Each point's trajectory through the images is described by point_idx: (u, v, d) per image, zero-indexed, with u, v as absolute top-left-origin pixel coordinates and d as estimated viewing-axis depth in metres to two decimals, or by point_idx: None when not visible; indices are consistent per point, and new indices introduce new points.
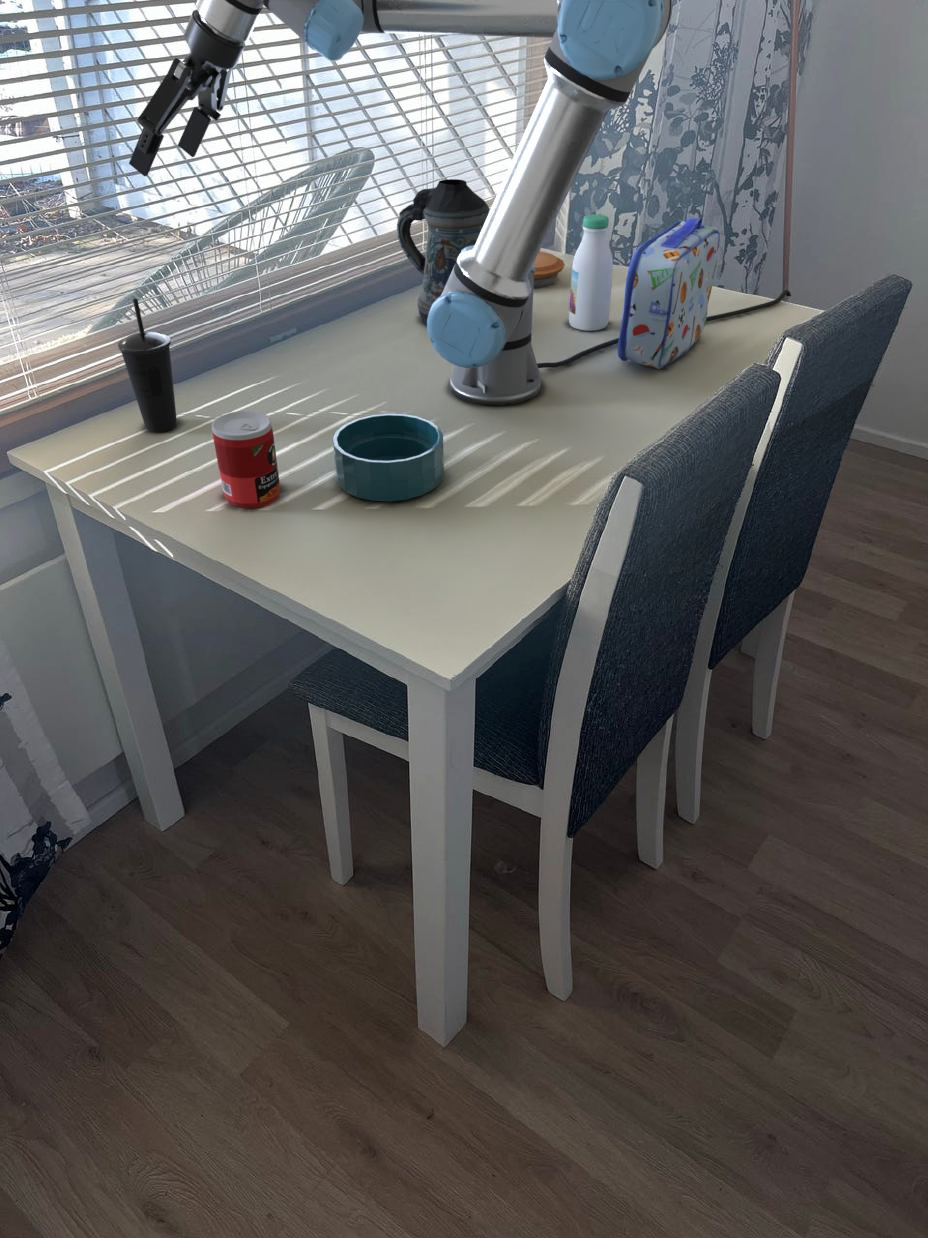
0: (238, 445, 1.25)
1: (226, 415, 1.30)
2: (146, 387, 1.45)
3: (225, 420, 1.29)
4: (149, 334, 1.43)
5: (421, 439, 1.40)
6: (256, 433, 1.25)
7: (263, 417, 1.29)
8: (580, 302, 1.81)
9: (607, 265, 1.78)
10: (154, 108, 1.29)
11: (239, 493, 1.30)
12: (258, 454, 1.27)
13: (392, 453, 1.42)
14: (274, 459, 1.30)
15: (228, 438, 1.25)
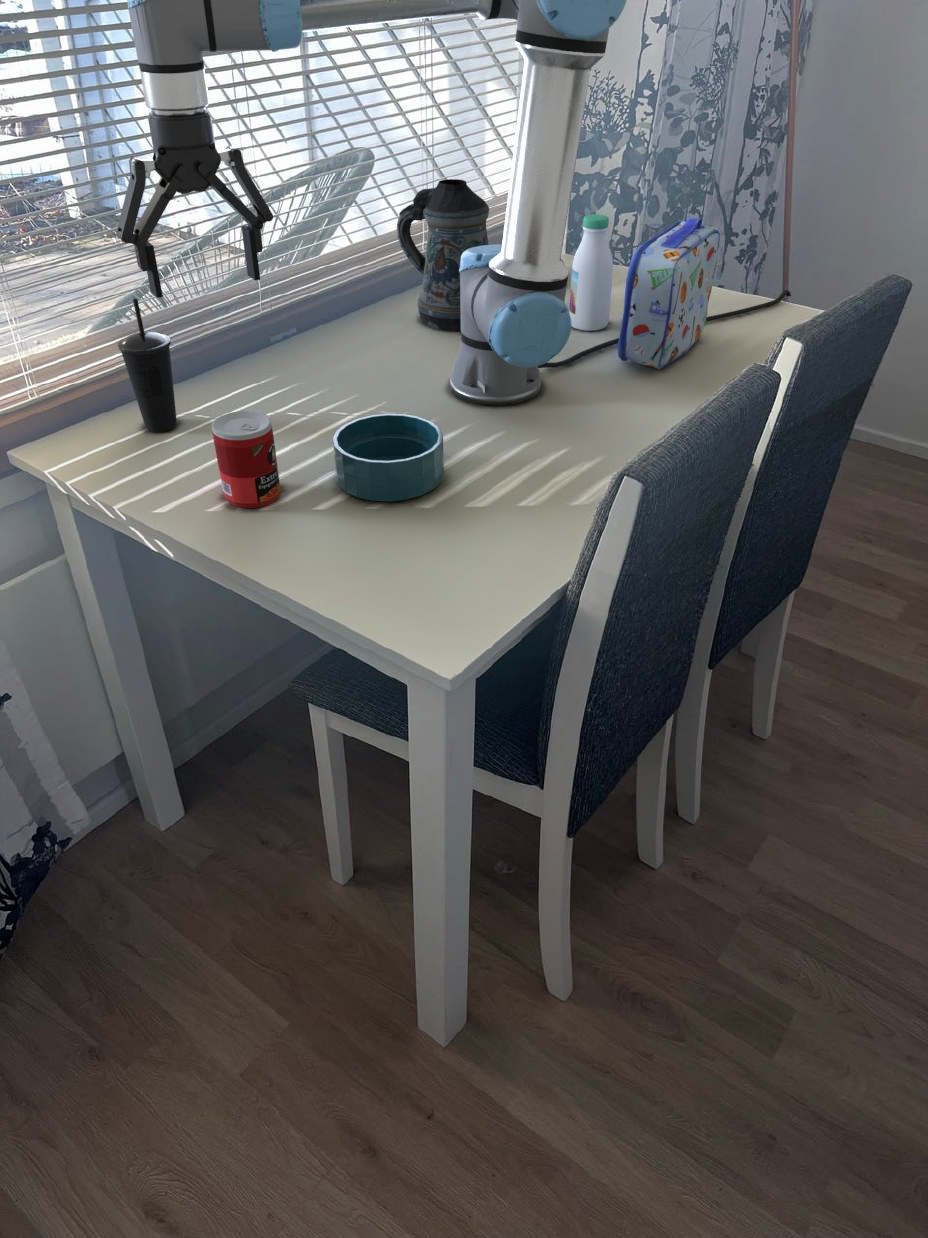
0: (238, 445, 1.25)
1: (226, 415, 1.30)
2: (146, 387, 1.45)
3: (225, 420, 1.29)
4: (149, 334, 1.43)
5: (421, 439, 1.40)
6: (256, 433, 1.25)
7: (263, 417, 1.29)
8: (580, 302, 1.81)
9: (607, 265, 1.78)
10: (123, 215, 1.20)
11: (239, 493, 1.30)
12: (258, 454, 1.27)
13: (392, 453, 1.42)
14: (274, 459, 1.30)
15: (228, 438, 1.25)
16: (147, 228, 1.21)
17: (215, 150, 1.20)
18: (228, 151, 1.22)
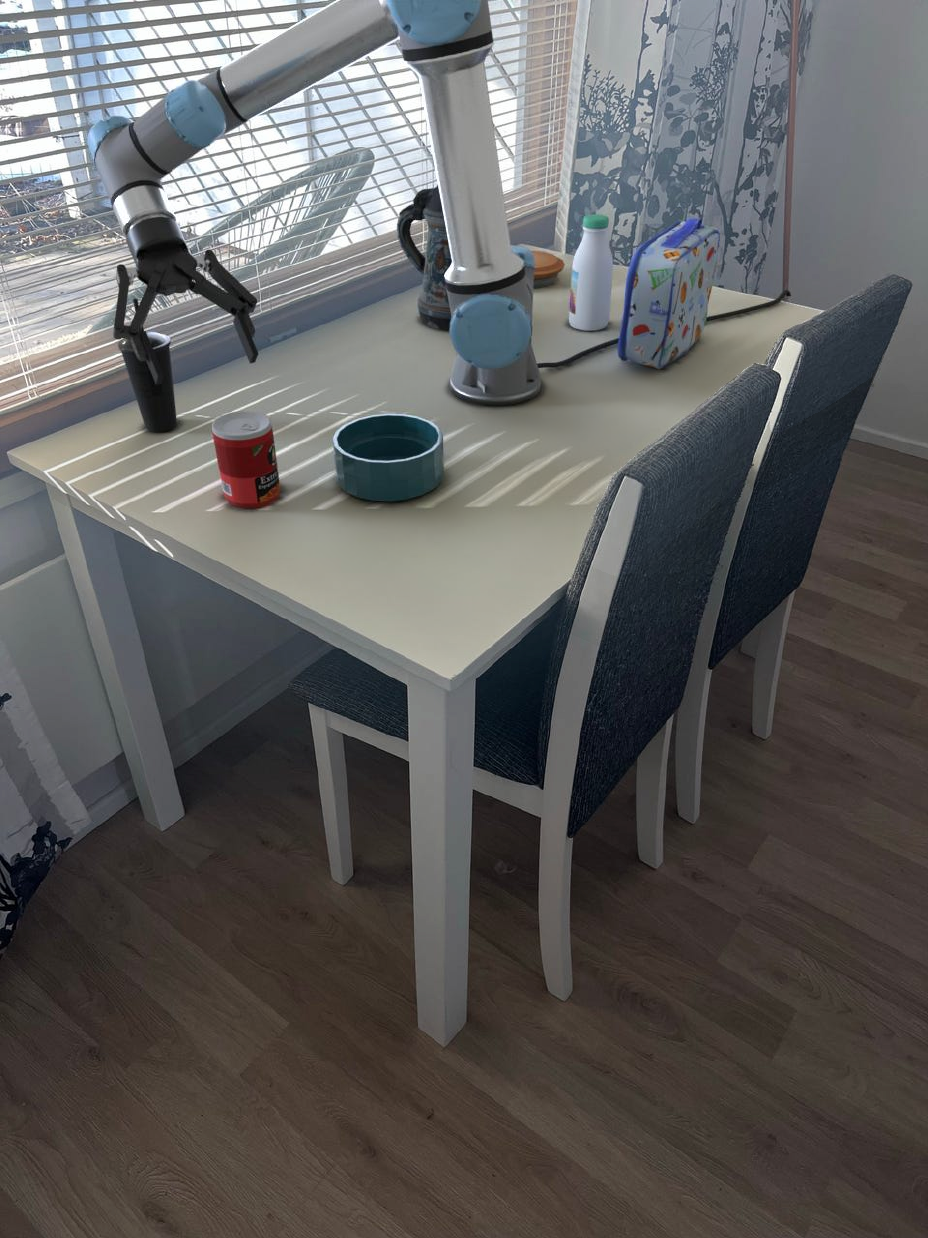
0: (238, 445, 1.25)
1: (226, 415, 1.30)
2: (146, 387, 1.45)
3: (225, 420, 1.29)
4: (149, 334, 1.43)
5: (421, 439, 1.40)
6: (256, 433, 1.25)
7: (263, 417, 1.29)
8: (580, 302, 1.81)
9: (607, 265, 1.78)
10: None
11: (239, 493, 1.30)
12: (258, 454, 1.27)
13: (392, 453, 1.42)
14: (274, 459, 1.30)
15: (228, 438, 1.25)
16: (137, 317, 1.29)
17: (189, 253, 1.34)
18: (202, 255, 1.35)
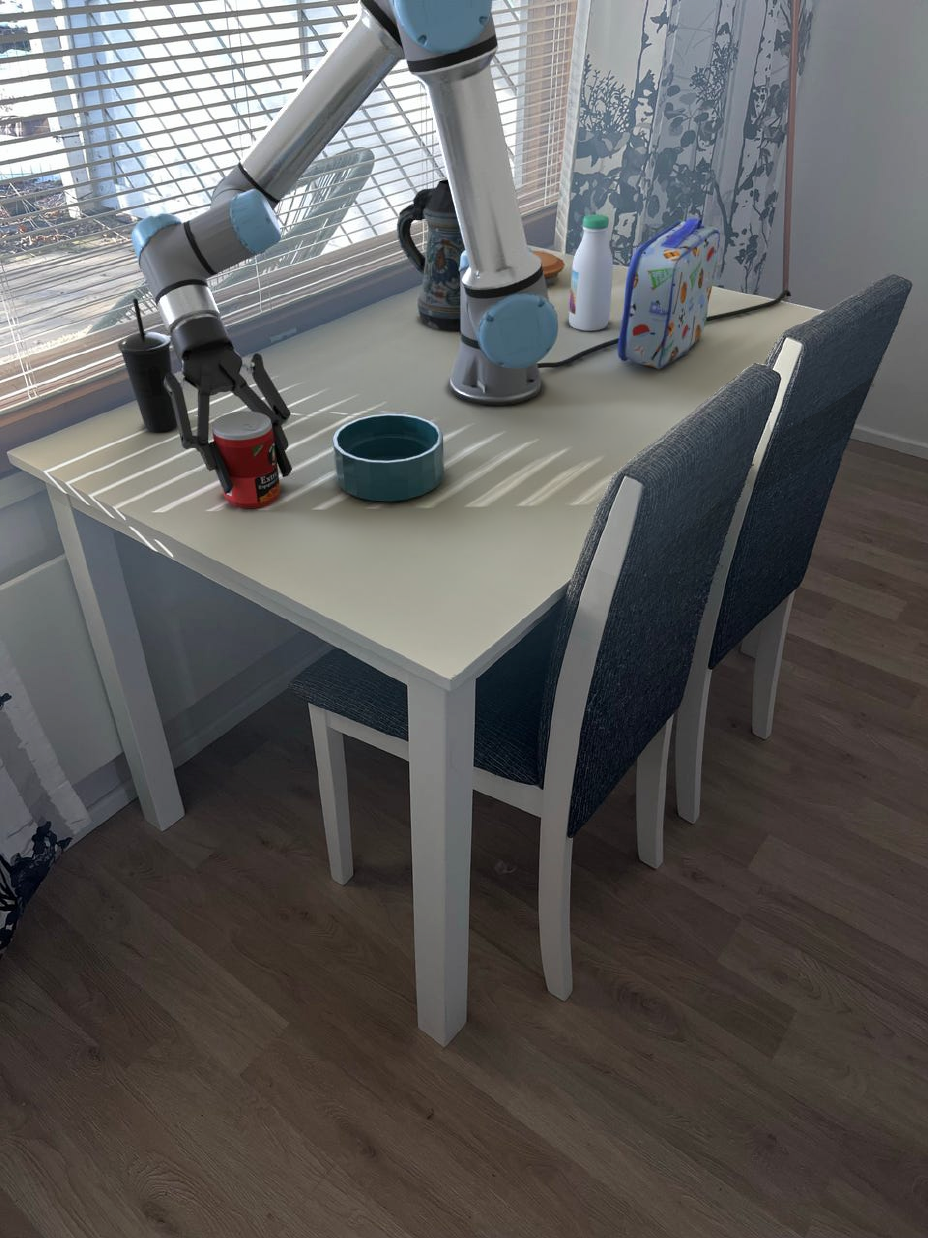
0: (238, 445, 1.25)
1: (226, 415, 1.30)
2: (146, 387, 1.45)
3: (225, 420, 1.29)
4: (149, 334, 1.43)
5: (421, 439, 1.40)
6: (256, 433, 1.25)
7: (263, 417, 1.29)
8: (580, 302, 1.81)
9: (607, 265, 1.78)
10: (179, 426, 1.27)
11: (239, 493, 1.30)
12: (258, 454, 1.27)
13: (392, 453, 1.42)
14: (274, 459, 1.30)
15: (228, 438, 1.25)
16: (203, 426, 1.27)
17: (234, 351, 1.31)
18: (250, 357, 1.32)
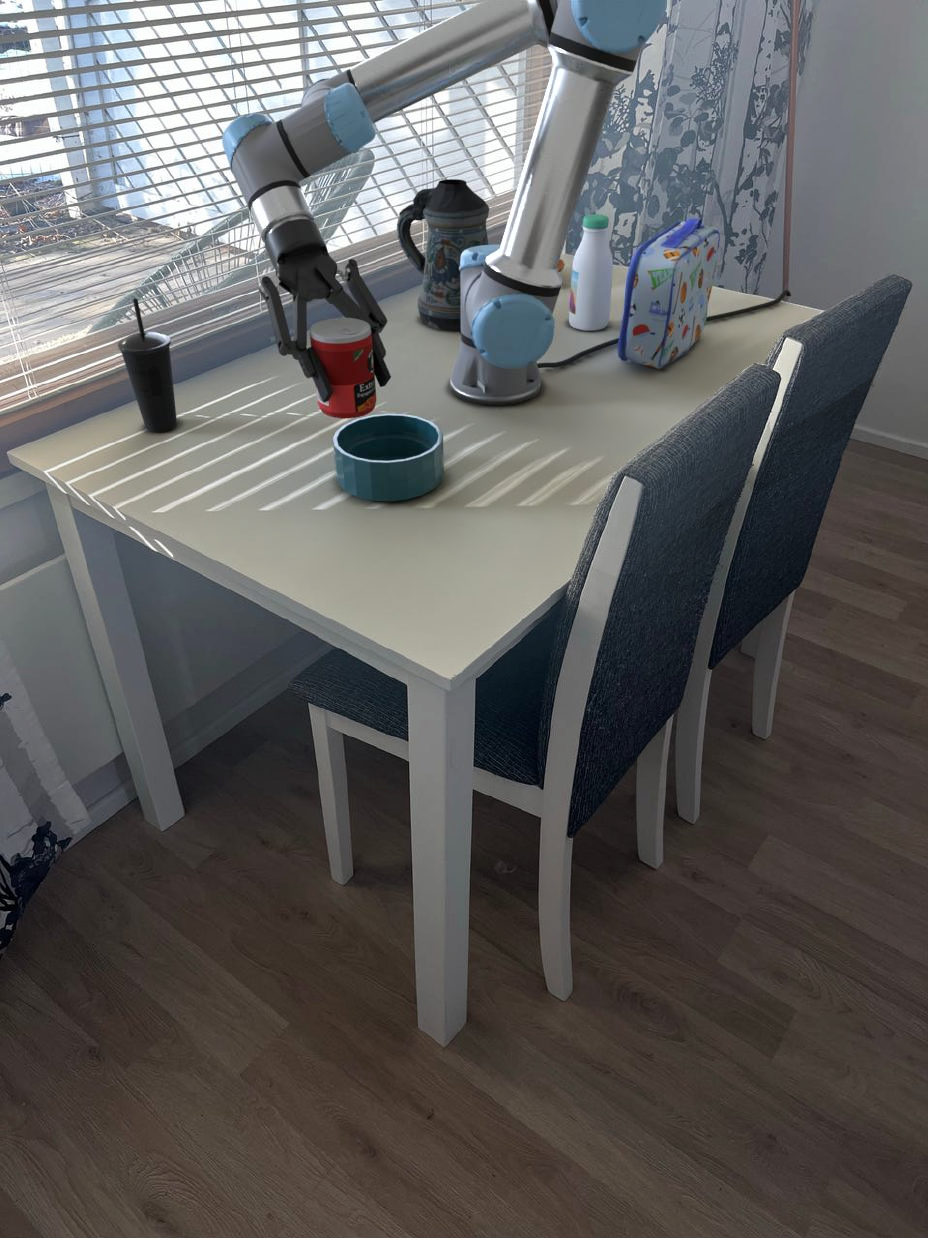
0: (339, 348, 1.21)
1: (323, 321, 1.25)
2: (146, 387, 1.45)
3: (322, 326, 1.25)
4: (149, 334, 1.43)
5: (421, 439, 1.40)
6: (357, 336, 1.21)
7: (361, 322, 1.25)
8: (580, 302, 1.81)
9: (607, 265, 1.78)
10: (276, 331, 1.23)
11: (337, 401, 1.25)
12: (359, 359, 1.23)
13: (392, 453, 1.42)
14: (372, 366, 1.26)
15: (328, 341, 1.21)
16: (301, 331, 1.23)
17: (329, 256, 1.27)
18: (345, 263, 1.28)
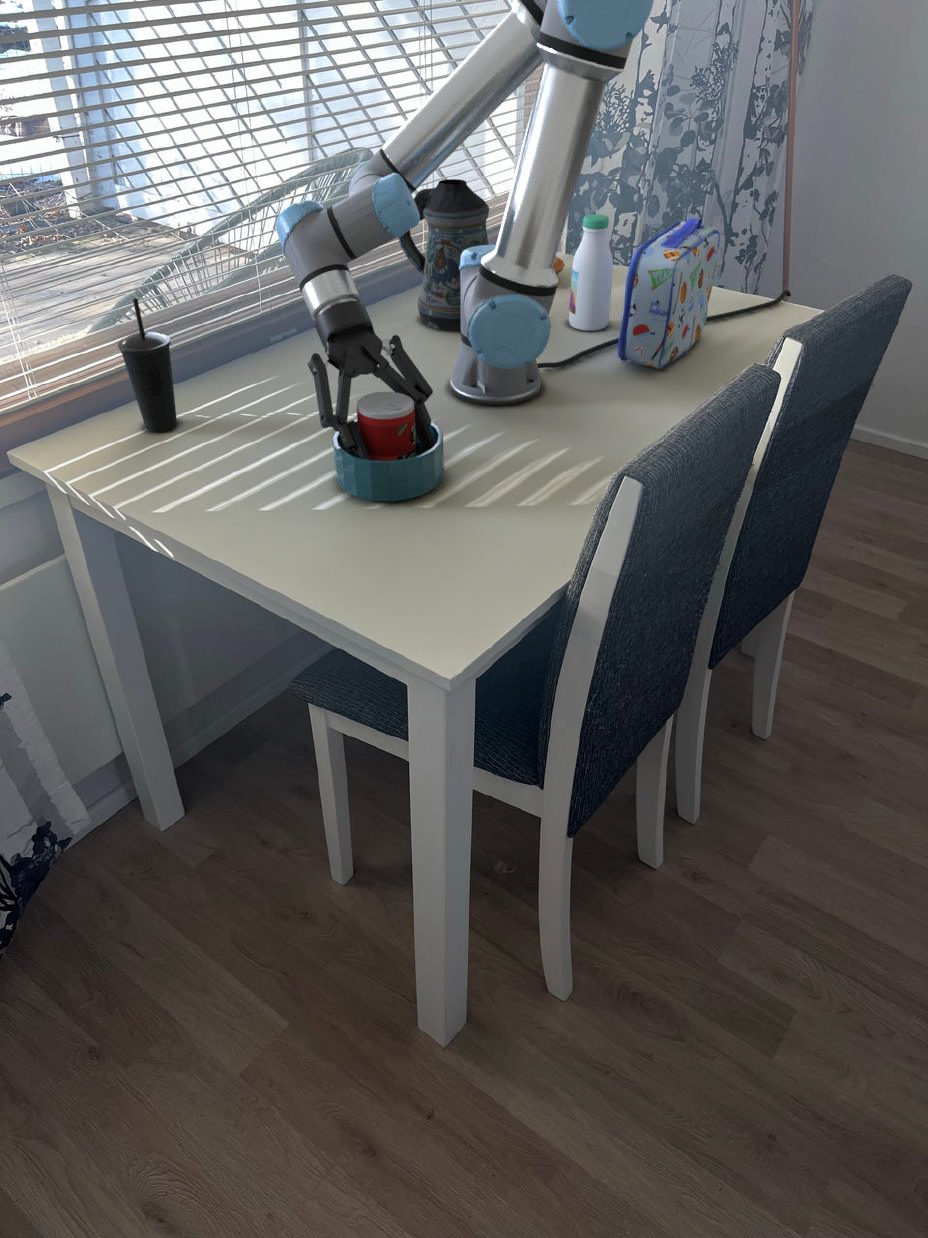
0: (385, 423, 1.29)
1: (368, 395, 1.33)
2: (146, 387, 1.45)
3: (368, 400, 1.32)
4: (149, 334, 1.43)
5: None
6: (402, 412, 1.29)
7: (405, 397, 1.33)
8: (580, 302, 1.81)
9: (607, 265, 1.78)
10: (320, 405, 1.30)
11: None
12: (403, 433, 1.30)
13: None
14: (414, 438, 1.33)
15: (375, 416, 1.28)
16: (343, 406, 1.30)
17: (375, 334, 1.35)
18: (388, 339, 1.36)
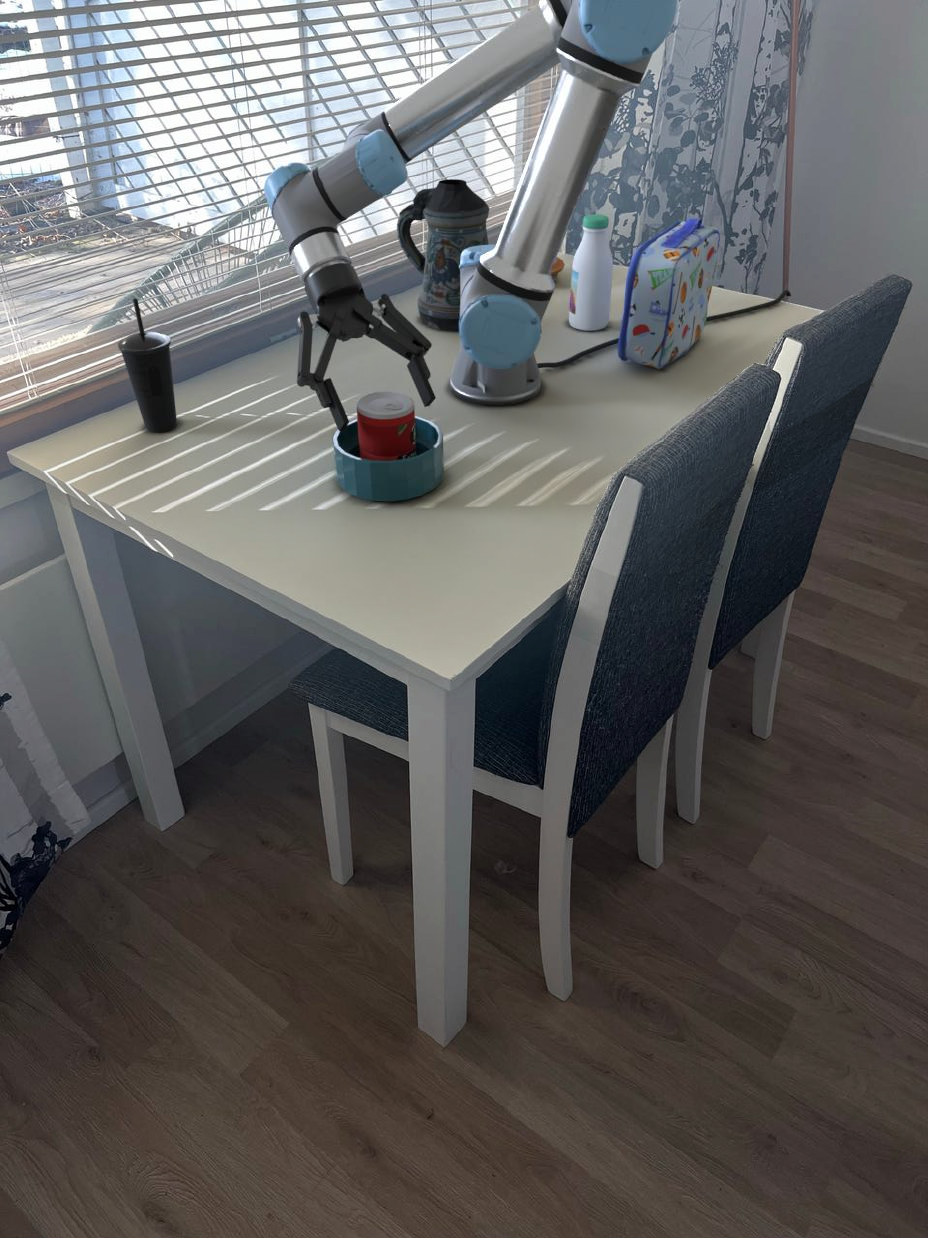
0: (385, 423, 1.29)
1: (368, 395, 1.33)
2: (146, 387, 1.45)
3: (368, 400, 1.32)
4: (149, 334, 1.43)
5: (421, 439, 1.40)
6: (402, 412, 1.29)
7: (405, 397, 1.33)
8: (580, 302, 1.81)
9: (607, 265, 1.78)
10: (299, 363, 1.29)
11: None
12: (403, 433, 1.30)
13: None
14: (414, 438, 1.33)
15: (375, 416, 1.28)
16: (322, 364, 1.29)
17: (366, 298, 1.34)
18: (377, 300, 1.35)
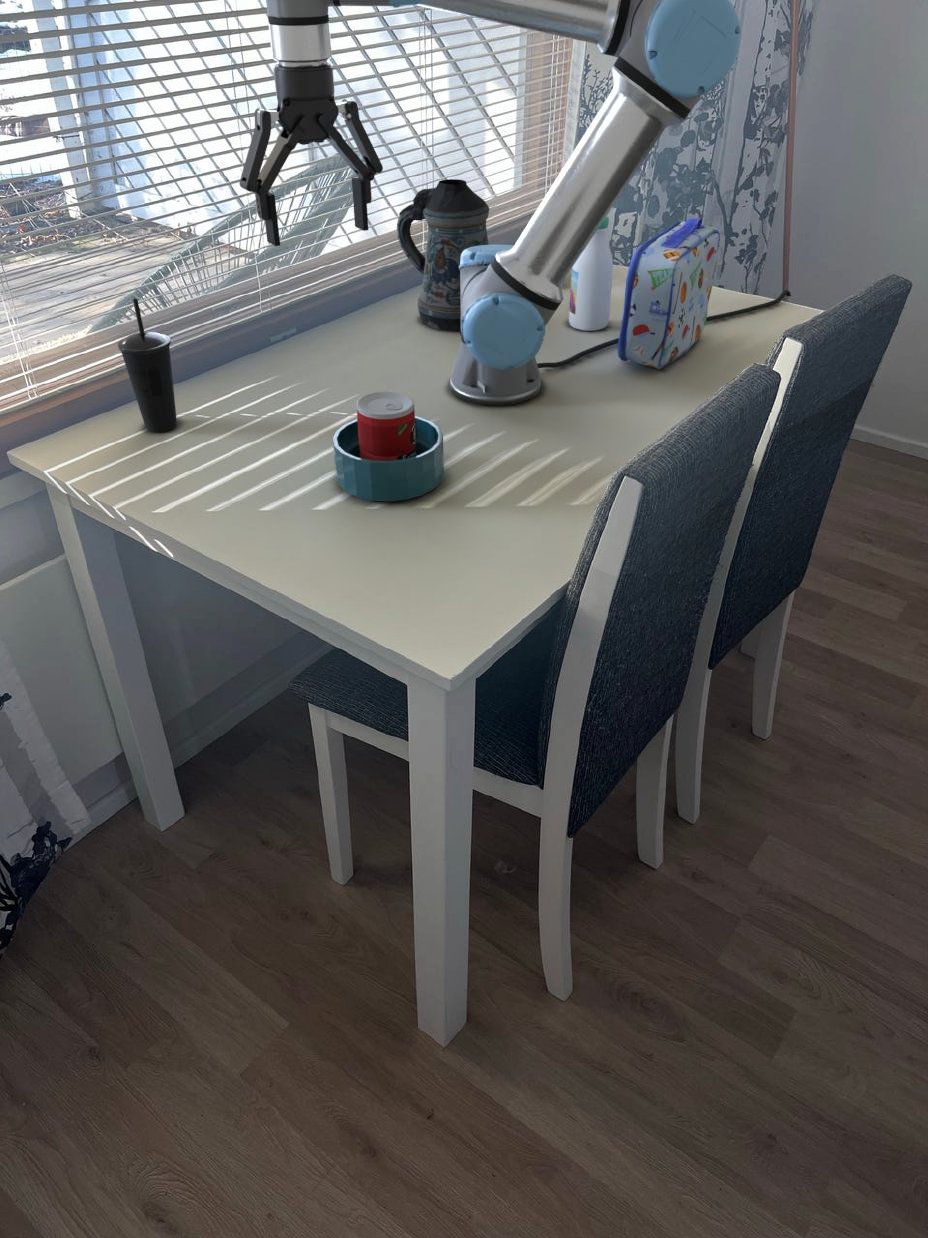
0: (385, 423, 1.29)
1: (368, 395, 1.33)
2: (146, 387, 1.45)
3: (368, 400, 1.32)
4: (149, 334, 1.43)
5: (421, 439, 1.40)
6: (402, 412, 1.29)
7: (405, 397, 1.33)
8: (580, 302, 1.81)
9: (607, 265, 1.78)
10: (247, 165, 1.25)
11: None
12: (403, 433, 1.30)
13: None
14: (414, 438, 1.33)
15: (375, 416, 1.28)
16: (270, 177, 1.26)
17: (334, 102, 1.26)
18: (345, 103, 1.27)
